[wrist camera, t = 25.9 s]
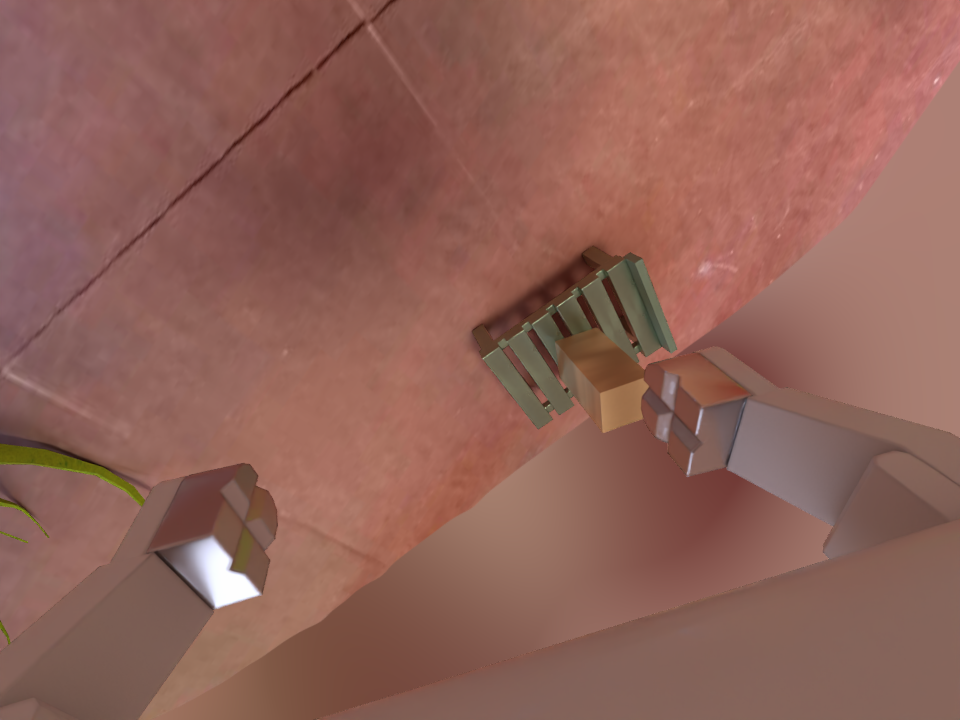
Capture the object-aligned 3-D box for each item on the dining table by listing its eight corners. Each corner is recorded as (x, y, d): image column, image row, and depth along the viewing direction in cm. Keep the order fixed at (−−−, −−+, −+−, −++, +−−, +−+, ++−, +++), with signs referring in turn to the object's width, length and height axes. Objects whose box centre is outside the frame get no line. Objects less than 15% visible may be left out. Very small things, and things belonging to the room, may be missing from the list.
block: (559, 377, 43) (602, 433, 36) (554, 341, 41) (599, 393, 33) (599, 363, 44) (650, 416, 36) (596, 327, 41) (651, 375, 34)
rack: (600, 236, 43) (642, 258, 37) (636, 319, 49) (677, 349, 43) (467, 330, 44) (486, 366, 38) (520, 398, 51) (543, 438, 45)
